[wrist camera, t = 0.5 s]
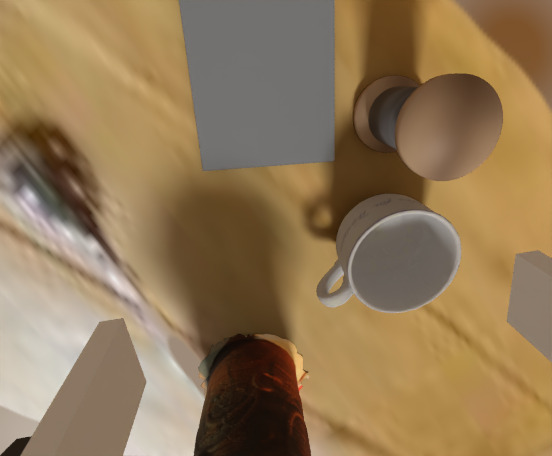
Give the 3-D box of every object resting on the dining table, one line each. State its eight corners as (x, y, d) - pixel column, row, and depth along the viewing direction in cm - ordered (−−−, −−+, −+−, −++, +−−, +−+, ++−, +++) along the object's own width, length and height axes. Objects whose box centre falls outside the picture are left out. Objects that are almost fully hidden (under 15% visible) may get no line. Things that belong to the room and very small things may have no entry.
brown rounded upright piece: (352, 153, 37) (396, 184, 26) (353, 78, 34) (403, 77, 23) (420, 148, 37) (493, 177, 26) (427, 73, 34) (511, 70, 23)
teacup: (413, 169, 38) (453, 191, 30) (433, 255, 42) (473, 293, 34) (288, 217, 39) (297, 250, 31) (320, 297, 43) (334, 342, 36)
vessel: (277, 429, 51) (288, 629, 32) (181, 395, 48) (131, 593, 29) (330, 354, 46) (379, 535, 28) (229, 312, 43) (207, 482, 25)
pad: (203, 169, 36) (203, 171, 36) (177, -21, 30) (175, -23, 29) (332, 159, 37) (334, 161, 36) (332, -29, 31) (334, -32, 30)
